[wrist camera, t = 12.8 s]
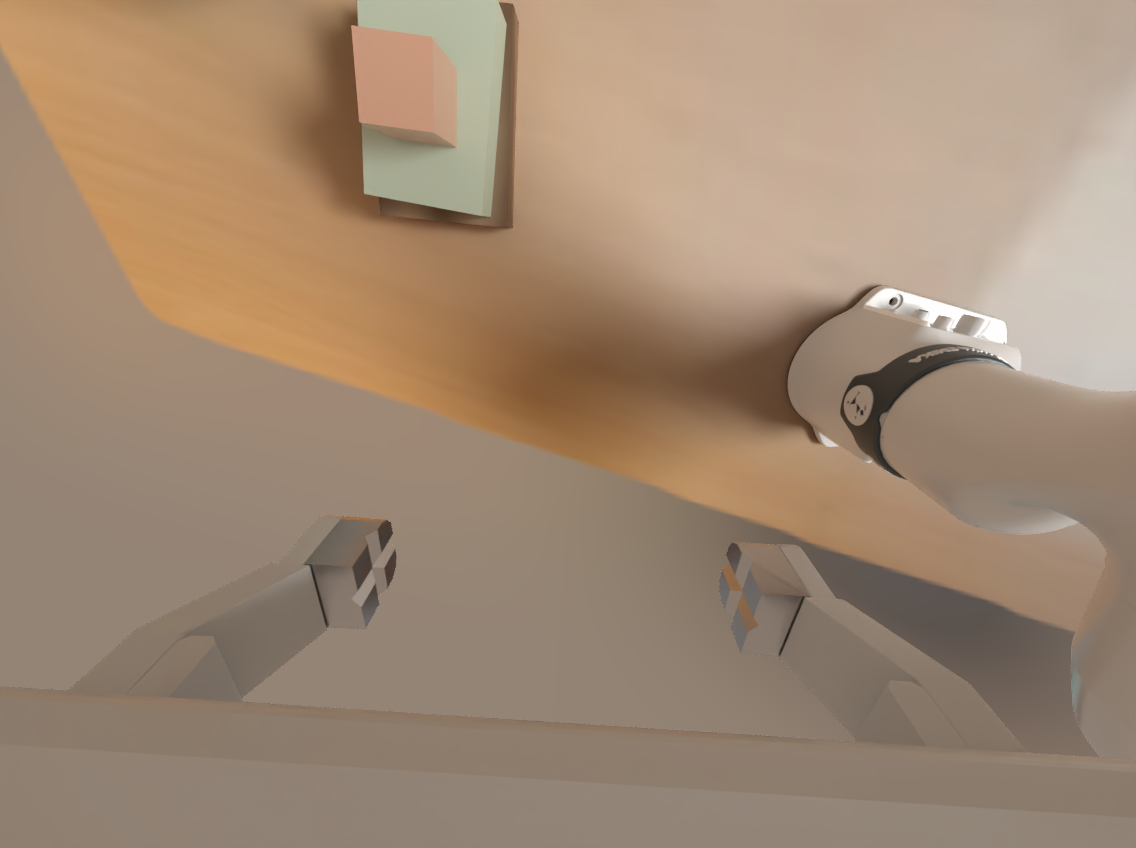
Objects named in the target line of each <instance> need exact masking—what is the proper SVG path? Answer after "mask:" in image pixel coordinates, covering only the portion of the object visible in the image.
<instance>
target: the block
mask: <svg viewBox="0 0 1136 848" xmlns="http://www.w3.org/2000/svg"><path fill="white" fill-rule="evenodd" d="M351 30H352V42H353V54H354V66H355V78H356V90H357V102H358V114H359V123H361V124H363V125H366V126H368V127H370V128H372V129H374V130H376V131H378V132H380V133H383V134H385V135H387V136H389V137H391V138H393V139H398V140H406V141H413V142H420V143H428V144H435V145H443V146H450V147H457V69H456V67H455V66H454V65H453V63H452V62H451V61H450V59H449V58H448V57H447V56H446V54H445V53H444V52H443V50H442V49H441V48H440V46H439V45H438V44H437V42H436V41H435V40H434V39H433V37H430V36H423V35H416V34H409V33H402V32H395V31H388V30H381V29H374V28H367V27H360V26H353V25H351Z"/></svg>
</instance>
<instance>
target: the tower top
mask: <svg viewBox="0 0 1136 848" xmlns="http://www.w3.org/2000/svg"><path fill="white" fill-rule="evenodd" d="M357 12H358V26H360V27H367V28H374V29H381V30H388V31H395V32H402V33H409V34H416V35H423V36H430V37H433V39H434V40H435V41H436V42H437V44H438V45H439V46H440V48H441V49H442V50H443V52H444V53H445V54H446V56H447V57H448V58H449V59H450V61H451V62H452V63H453V65H454V66H455V67H456V69H457V147H450V146H443V145H435V144H428V143H420V142H413V141H406V140H398V139H393V138H391V137H389V136H387V135H385V134H383V133H380V132H378V131H376V130H374V129H372V128H370V127H368V126H366V125H363V124H362V152H363V180H364V194H367V195H373V196H378V197H383V198H389V199H394V200H399V201H405V202H410V203H415V204H420V205H426V206H431V207H436V208H442V209H447V210H452V211H458V212H463V213H468V214H474V215H479V216H486V217H491V211H492V199H493V187H494V174H495V162H496V150H497V138H498V125H499V113H500V101H501V88H502V76H503V64H504V51H505V39H506V27H507V24H506V21H505V18H504V15H503V13H502V10H501V7H500V4H499V2H498V0H357Z"/></svg>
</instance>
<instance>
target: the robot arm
mask: <svg viewBox="0 0 1136 848" xmlns="http://www.w3.org/2000/svg"><path fill="white" fill-rule="evenodd" d="M891 298H893V301H892V303H891V304H889V301H890V299H891ZM1006 341H1007V330H1006V324H1005V322H1004V321H1002V320H999V319H997V318H994V317H991V316H988V315H984V314H981V313H977V312H974V311H971V310H967V309H964V308H960V307H957V306H954V305H950V304H947V303H943V302H940V301H936V300H933V299H930V298H926V297H923V296H919V295H916V294H912V293H909V292H906V291H902V290H899V289H895V288H892V287H888V286H884V285H883V286H878V287H875V288H874V289H872V290H871V291H870V292H868V293H867V294H866V295H865V296H864V297H863V298H862V299H861V300H860V301H859V302H858V303H857V304H856V305H855V306H854V307H852V308H851V309H849V310H847V311H845V312H843V313H841V314H839V315H837V316H835V317H833V318H832V319H830V320H828V321H827V322H825V323H824V324H822V325H821V326H820V327H819V328H817V329H816V330H815V331H814V332H813V333H812V334H811V335H810V336H809V337H808V338H807V339H806V340H805V341H804V343H803V344H802V345H801V347H800V348H799V350H798V351H797V353H796V355H795V357H794V359H793V361H792V364H791V367H790V370H789V375H788V394H789V398H790V401H791V403H792V405H793V407H794V408H795V410H796V411H797V412H798V414H799V415H800V416H801V417H803V418H804V419H805V420H806V421H807V422H809V423H810V424H811V426H812V427H813V430H814V432H815V435H816V437H817V439H818V441H819V442H820V443H822V444H823V445H825V446H827V447H837V446H840V447H841V448H843V449H844V450H846V451H847V452H849V453H850V454H852V455H853V456H855V457H856V458H858V459H859V460H861V461H863V462H866V463H870V462H874V463H876V464H877V465H878V466H880V467H882V468H883V469H884V470H887V471H889V472H890V473H892V474H893V475H895V476H898V477H900V478H903V479H906V480H908V481H909V482H911V483H912V484H913V485H915V486H916V487H917V488H918V489H920V490H921V491H922V492H924V493H925V494H926V495H927V496H929V497H930V498H931V499H933V500H934V501H935V502H936V503H938V504H939V505H940V506H942V507H943V508H944V509H946V510H947V511H948V512H949V513H951V514H952V515H953V516H955V517H956V518H957V519H959V520H961V521H962V522H965V523H967V524H969V525H972V526H975V527H978V528H981V529H986V530H990V531H995V532H1001V533H1007V534H1039V533H1045V532H1050V531H1055V530H1059V529H1062V528H1065V527H1069V526H1071V525H1074V524H1077V523H1081V524H1083V525H1084V526H1085V527H1087V528H1088V529H1089V530H1090V531H1091V532H1093V533H1094V534H1095V535H1096V537H1097V538H1098V539H1099V540H1100V542H1101V543H1102V545H1103V546H1104V548H1105V549H1106V552H1107V554H1106V558H1105V568H1104V570H1103V572H1102V575H1101V577H1100V579H1099V582H1098V584H1097V586H1096V588H1095V591H1094V593H1093V595H1092V597H1091V600H1090V602H1089V604H1088V606H1087V609H1086V611H1085V613H1084V616H1083V618H1082V620H1081V622H1080V625H1079V627H1078V629H1077V631H1076V634H1075V636H1074V639H1073V642H1072V649H1071V650H1072V651H1071V652H1072V653H1071V684H1072V699H1073V709H1074V714H1075V717H1076V720H1077V722H1078V725H1079V727H1080V728H1081V731H1082V733H1083V734H1084V736H1085V737H1086V739H1087V740H1088V742H1089V743H1090V745H1091V746H1092V747H1093V749H1094V750H1095V751H1096V752H1097V754H1098V755H1099V756H1100V757H1101V758H1100V757H1083V756H1068V755H1052V754H1037V753H1028V752H1027V751H1026V750H1025V749H1024V748H1023V746H1022V745H1021V744H1020V743H1019V742H1018V740H1017V739H1016V738H1015V737H1014V736H1013V735H1012V733H1011V732H1010V731H1009V730H1008V729H1007V728H1006V726H1005V725H1004V724H1003V723H1002V722H1001V721H1000V719H999V718H998V717H997V716H996V715H995V713H994V712H993V711H992V710H991V709H990V707H989V706H988V705H987V704H986V703H985V701H984V700H983V699H982V698H981V697H980V696H979V694H978V693H977V692H976V691H975V690H974V689H973V687H972V686H971V685H970V684H969V683H967V682H966V681H964V680H963V679H961V678H960V677H958V676H957V675H955V674H954V673H952V672H951V671H949V670H947V669H946V668H945V667H943V666H942V665H940V664H939V663H937V662H936V661H934V660H933V659H931V658H930V657H928V656H927V655H925V654H924V653H922V652H921V651H919V650H918V649H916V648H915V647H913V646H912V645H910V644H909V643H907V642H906V641H904V640H903V639H901V638H900V637H898V636H897V635H895V634H894V633H892V632H891V631H889V630H888V629H886V628H885V627H883V626H882V625H880V624H879V623H877V622H876V621H874V620H873V619H871V618H870V617H868V616H867V615H865V614H864V613H862V612H861V611H859V610H858V609H856V608H855V607H853V606H852V605H850V604H849V603H847V602H846V601H844V600H840V599H836V598H835V597H834V595H833V594H832V592H831V591H830V589H829V588H828V587H827V585H826V584H825V582H824V581H823V579H822V578H821V576H820V575H819V573H818V572H817V571H816V569H815V568H814V566H813V565H812V563H811V562H810V560H809V559H808V558H807V556H806V555H805V553H804V552H803V550H802V549H801V548H800V547H798V546H797V545H781V544H775V545H772V544H754V543H737V542H732V543H731V544H730V546H729V547H728V551H727V554H726V556H727V558H728V560H729V564H728V565H727V566H726V567H724V568H723V569H722V572H721V576H720V580H719V583H720V586H719V587H720V588H719V589H720V590H719V592H720V597H721V601H722V604H723V607H724V610H725V611H726V612H727V613H728V614H729V615H730V616H732V617H733V621H732V625H731V629H732V631H733V634H734V636H735V639H736V642H737V645H738V647H739V650H740V652H741V653H743V654H754V655H764V656H775V657H780V660H781V661H782V662H783V663H784V664H785V665H786V666H787V667H788V668H789V670H791V672H792V673H793V674H794V675H795V676H796V677H797V678H798V679H799V680H800V681H801V682H802V683H803V684H804V685H805V686H806V687H807V688H808V689H809V690H810V691H811V692H812V694H813V695H814V696H815V697H816V698H817V699H818V700H819V701H820V702H821V703H822V704H823V705H824V706H825V707H826V708H827V709H828V710H829V711H830V712H831V713H832V714H833V716H834V717H836V719H837V720H838V721H839V722H840V723H841V724H842V725H843V726H844V727H845V728H846V729H847V730H848V731H849V732H850V733H851V734H852V735H853V736H854V738H855V739H854V741H838V740H824V739H823V740H822V739H808V738H792V737H777V736H761V735H747V734H731V733H716V732H699V731H684V730H668V729H667V730H666V729H652V728H637V727H621V726H605V725H589V724H575V723H560V722H544V721H528V720H513V719H499V718H498V719H497V718H484V717H469V716H453V715H438V714H422V713H407V712H391V711H376V710H360V709H346V708H329V707H315V706H299V705H283V704H269V703H252V702H243V700H242V698H243V697H244V696H245V695H246V694H248V693H249V692H250V691H251V690H252V689H254V688H255V687H256V686H258V685H259V684H260V683H261V682H263V681H264V680H265V679H266V678H268V677H269V676H270V675H271V674H272V673H274V672H275V671H276V670H278V669H279V668H280V667H281V666H282V665H284V664H285V663H286V662H288V661H289V660H290V659H291V658H292V657H294V656H295V655H296V654H297V653H299V652H300V651H301V650H302V649H304V648H305V647H306V646H307V645H309V644H310V643H311V642H312V641H314V640H315V639H316V638H317V637H319V636H320V635H321V634H322V633H324V632H325V631H326V630H327V628H351V629H366V627H367V626H368V624H369V622H370V620H371V619H372V617H373V615H374V613H375V611H376V609H377V607H378V606H379V600H378V595H379V594H380V593H382V592H383V591H385V590H386V589H388V587H389V585H390V583H391V581H392V579H393V576H394V572H395V568H396V550H395V547H394V546H393V545H392V544H391V543H390V542H389V539H390V538H391V536H392V534H393V531H392V526H391V522H389V521H388V520H383V519H382V520H381V519H370V518H360V517H348V516H347V517H344V516H333V515H324V516H322V517H320V518H319V519H318V520H317V521H316V522H315V523H314V524H313V525H312V526H311V527H310V528H309V529H308V531H307V532H306V533H305V534H304V535H303V536H302V537H301V538H300V539H299V540H298V542H297V543H296V544H295V545H294V546H293V547H292V548H291V549H290V550H289V551H288V553H287V554H286V555H285V556H284V557H283V558H282V559H281V560H280V561H279V562H278V563H270V564H268V565H266V566H263V567H261V568H259V569H257V570H255V571H253V572H251V573H250V574H248V575H245V576H243V577H241V578H239V579H237V580H235V581H233V582H231V583H229V584H227V585H225V586H223V587H221V588H219V589H217V590H215V591H213V592H211V593H209V594H207V595H204V596H202V597H200V598H198V599H197V600H194V601H192V602H190V603H188V604H186V605H184V606H182V607H180V608H178V609H177V610H174V611H172V612H170V613H168V614H166V615H164V616H162V617H160V618H158V619H156V620H154V621H152V622H150V623H148V624H146V625H144V626H142V627H140V628H138V629H136V630H135V631H133V632H132V633H131V634H130V635H129V636H128V637H127V638H126V639H124V640H123V641H122V642H121V643H120V644H119V645H118V646H117V647H116V648H114V649H113V650H112V651H111V652H110V653H109V654H108V655H107V656H106V657H105V658H103V659H102V660H101V661H100V662H99V663H98V664H97V665H96V666H94V667H93V668H92V669H91V670H90V671H89V672H88V673H87V674H86V675H84V676H83V677H82V678H81V679H80V680H79V681H78V682H77V683H76V684H74V685H73V686H72V687H71V688H70V689H69V690H53V689H38V688H22V687H6V686H0V848H1136V391H1129V392H1106V391H1097V390H1090V389H1085V388H1080V387H1076V386H1072V385H1068V384H1064V383H1060V382H1056V381H1052V380H1048V379H1045V378H1041V377H1038V376H1034V375H1031V374H1027V373H1024V372H1021V371H1020V369H1021V355H1020V352H1019V350H1018V349H1017V348H1016V347H1014V346H1010V345H1007V344H1006Z"/></svg>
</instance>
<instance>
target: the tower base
mask: <svg viewBox="0 0 1136 848" xmlns="http://www.w3.org/2000/svg"><path fill="white" fill-rule="evenodd" d="M499 4H500V7H501V10H502V13H503V15H504V18H505V21H506V24H507V27H506V39H505V51H504V64H503V76H502V88H501V101H500V113H499V125H498V138H497V150H496V162H495V174H494V187H493V199H492V211H491V217H486V216H479V215H474V214H468V213H463V212H458V211H452V210H447V209H442V208H436V207H431V206H426V205H420V204H415V203H410V202H405V201H399V200H394V199H389V198H383V197H379V200H380V211H381V215H383V216H393V217H403V218H413V219H423V220H433V221H443V222H453V223H463V224H473V225H483V226H493V227H503V228H513V195H514V162H515V128H516V95H517V62H518V28H519V22H518V19H517V16H516V12H515V9H514V6H513V4H509V3H500V2H499Z"/></svg>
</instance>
